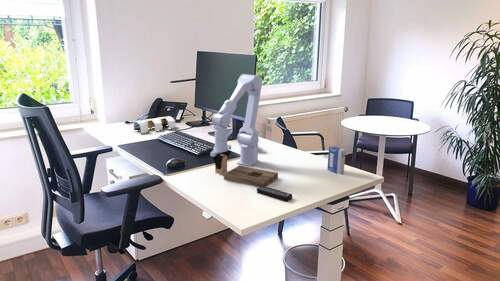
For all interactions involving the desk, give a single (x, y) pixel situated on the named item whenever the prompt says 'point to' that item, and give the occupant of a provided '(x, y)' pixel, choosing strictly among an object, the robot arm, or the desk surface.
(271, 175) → the pin plate
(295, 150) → the desk surface
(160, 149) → the desk surface
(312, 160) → the desk surface
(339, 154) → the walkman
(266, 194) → the multiport hub
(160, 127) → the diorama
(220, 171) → the pin
